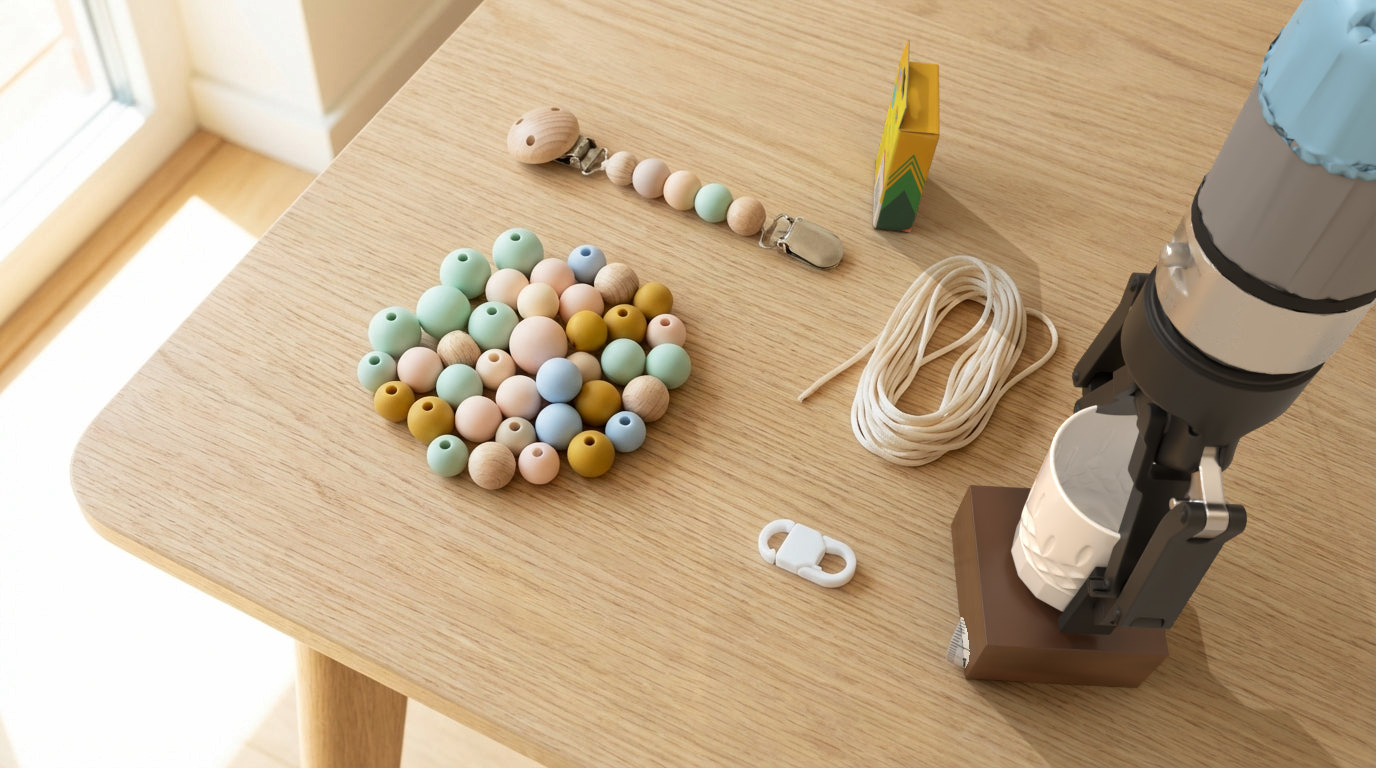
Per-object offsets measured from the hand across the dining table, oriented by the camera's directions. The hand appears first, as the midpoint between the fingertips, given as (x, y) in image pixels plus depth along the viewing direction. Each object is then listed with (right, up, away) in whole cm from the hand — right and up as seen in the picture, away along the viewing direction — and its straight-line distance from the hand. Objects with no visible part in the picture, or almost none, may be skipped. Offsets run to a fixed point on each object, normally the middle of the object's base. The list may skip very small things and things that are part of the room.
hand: (1073, 557), depth 68 cm
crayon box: (-6, +24, +23) cm, 34 cm away
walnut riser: (0, -3, +5) cm, 6 cm away
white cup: (0, 0, 0) cm, 0 cm away
